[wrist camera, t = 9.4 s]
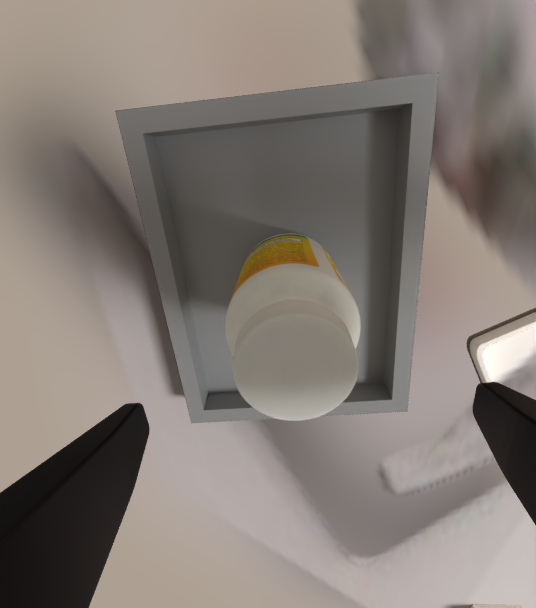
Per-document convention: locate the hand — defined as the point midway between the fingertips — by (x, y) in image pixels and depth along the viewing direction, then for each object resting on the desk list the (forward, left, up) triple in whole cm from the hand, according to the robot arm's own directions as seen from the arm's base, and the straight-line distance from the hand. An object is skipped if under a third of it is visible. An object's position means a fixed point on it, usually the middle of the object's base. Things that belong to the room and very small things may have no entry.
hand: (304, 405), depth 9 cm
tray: (0, 0, -12) cm, 12 cm away
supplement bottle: (0, 0, -11) cm, 11 cm away
